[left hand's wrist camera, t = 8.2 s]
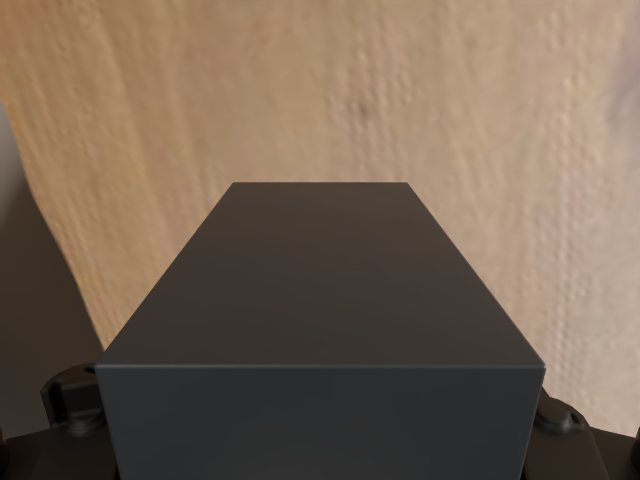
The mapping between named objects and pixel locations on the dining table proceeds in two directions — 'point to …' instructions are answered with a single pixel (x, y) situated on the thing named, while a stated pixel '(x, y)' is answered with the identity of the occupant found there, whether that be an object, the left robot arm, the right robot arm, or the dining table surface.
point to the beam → (320, 349)
